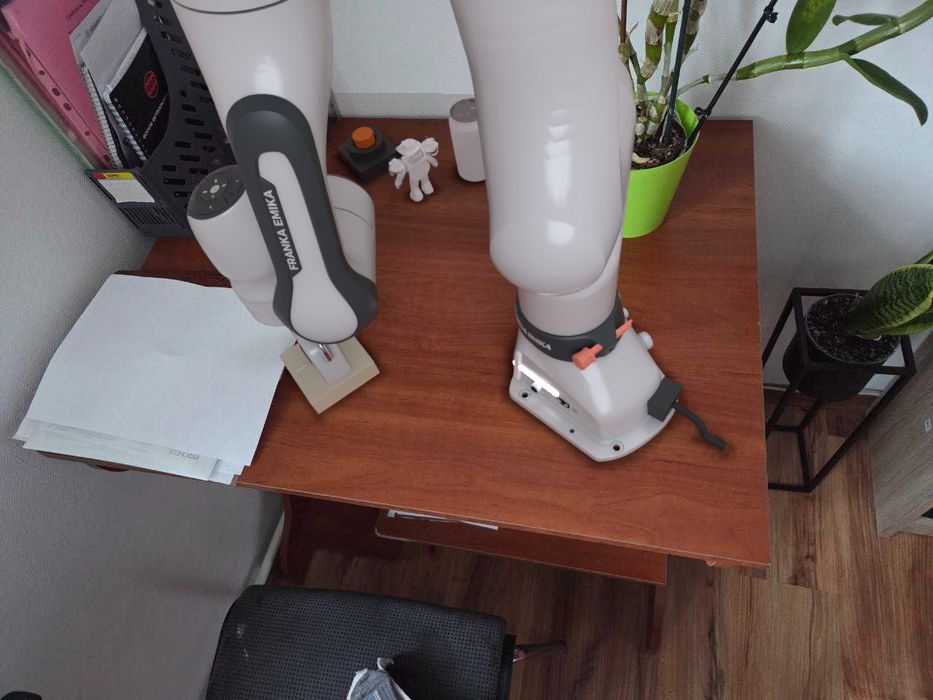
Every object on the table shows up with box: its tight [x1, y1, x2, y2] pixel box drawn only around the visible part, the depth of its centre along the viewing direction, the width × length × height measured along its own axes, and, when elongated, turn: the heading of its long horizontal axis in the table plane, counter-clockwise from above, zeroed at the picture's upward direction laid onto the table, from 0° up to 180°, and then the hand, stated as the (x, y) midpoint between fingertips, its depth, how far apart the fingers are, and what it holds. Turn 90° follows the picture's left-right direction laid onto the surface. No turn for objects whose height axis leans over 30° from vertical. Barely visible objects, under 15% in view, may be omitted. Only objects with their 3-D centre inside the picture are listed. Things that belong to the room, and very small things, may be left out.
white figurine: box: [388, 137, 439, 202], centre depth 98 cm, size 9×4×12 cm, turn 126°
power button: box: [351, 126, 375, 149], centre depth 106 cm, size 4×4×2 cm
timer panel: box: [278, 336, 380, 415], centre depth 86 cm, size 10×10×3 cm
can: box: [448, 97, 486, 183], centre depth 99 cm, size 6×6×12 cm
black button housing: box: [336, 125, 403, 183], centre depth 108 cm, size 9×8×4 cm
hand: (319, 349), depth 84 cm, fingers closed on timer knob, 4 cm apart
